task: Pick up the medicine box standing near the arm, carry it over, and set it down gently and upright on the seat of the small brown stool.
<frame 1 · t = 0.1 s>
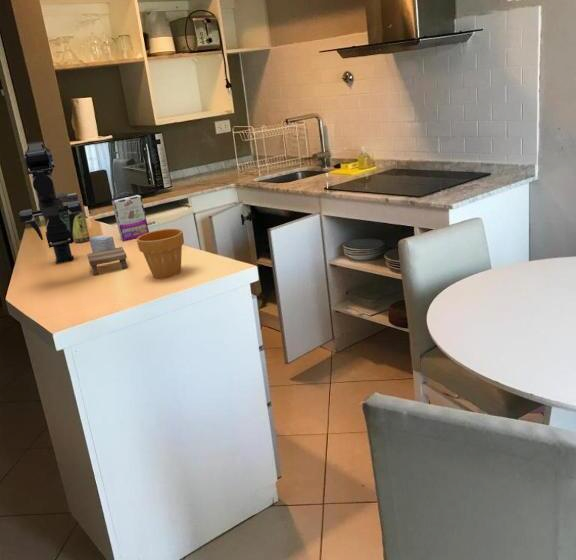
hand: (57, 237, 203), 15 cm above the table, fingers open, 9 cm apart
coffee jar: (71, 235, 276), on the table
flower pot: (167, 274, 199), on the table
candy bar box: (135, 237, 255), on the table
medicine box: (106, 260, 226), on the table
small brown stool: (109, 268, 215), on the table
sauce bottle: (82, 241, 261), on the table
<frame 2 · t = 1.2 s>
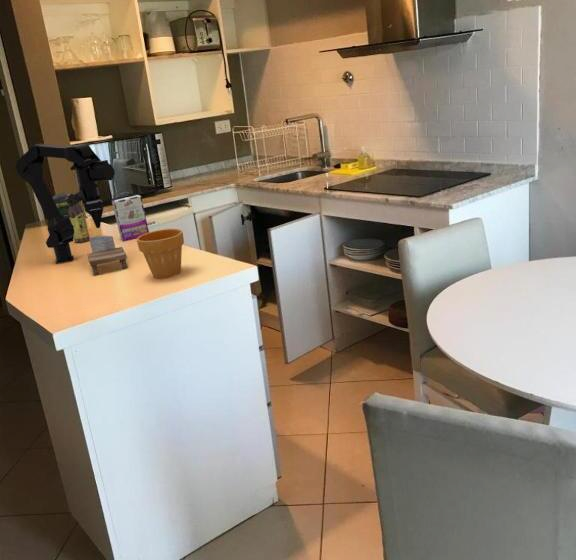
hand: (97, 225, 222), 13 cm above the table, fingers open, 9 cm apart
nothing on the table moved.
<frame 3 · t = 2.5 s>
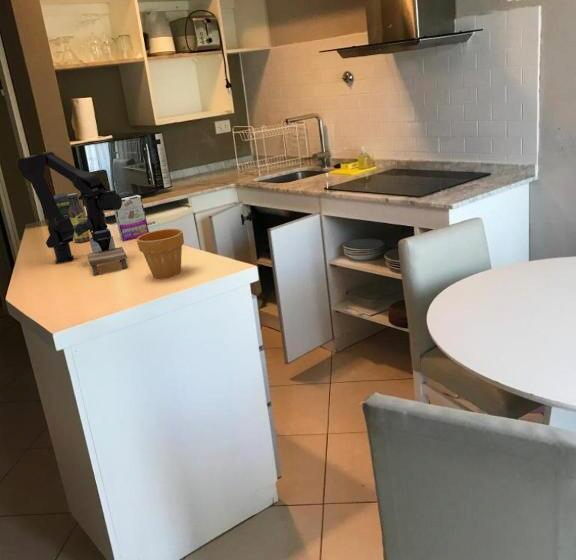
hand: (104, 253, 225), 3 cm above the table, fingers closed on medicine box, 9 cm apart
medicine box: (106, 260, 226), on the table, touching gripper
everything else where it was.
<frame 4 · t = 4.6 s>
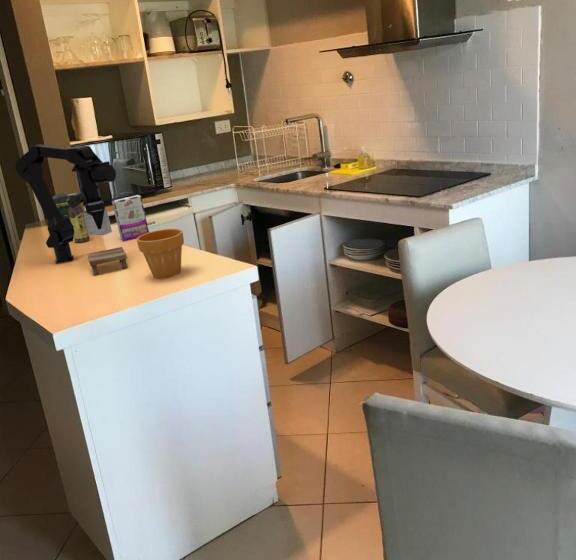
hand: (98, 226, 222), 12 cm above the table, fingers closed on medicine box, 9 cm apart
medicine box: (100, 234, 223), point 10 cm above the table, touching gripper
everything else where it was.
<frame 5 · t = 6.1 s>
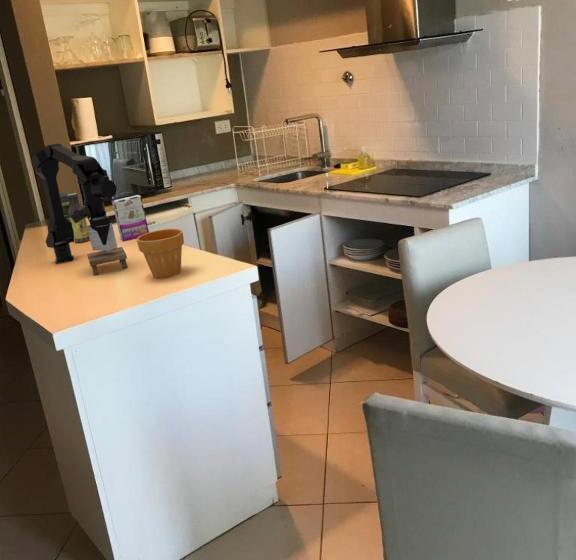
hand: (103, 242, 212), 9 cm above the table, fingers closed on medicine box, 9 cm apart
medicine box: (105, 249, 213), point 7 cm above the table, touching gripper
everything else where it was.
when the fingers open (8 cm above the table, at t = 7.0 s): medicine box stays where it is, resting on small brown stool.
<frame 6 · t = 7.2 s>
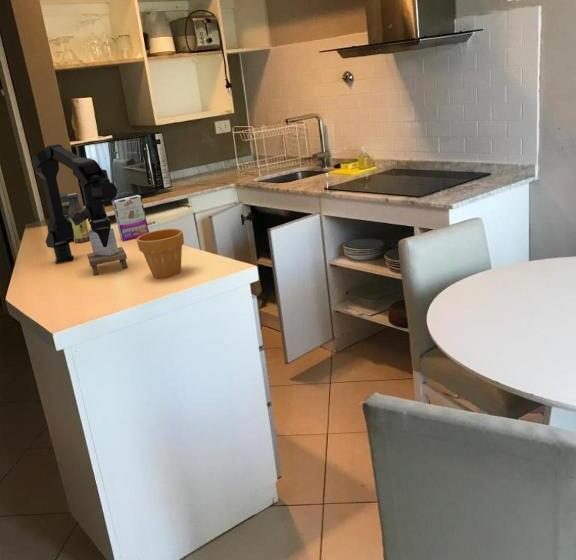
hand: (104, 244, 212), 8 cm above the table, fingers open, 9 cm apart
medicine box: (106, 254, 214), point 5 cm above the table, touching small brown stool
everything else where it was.
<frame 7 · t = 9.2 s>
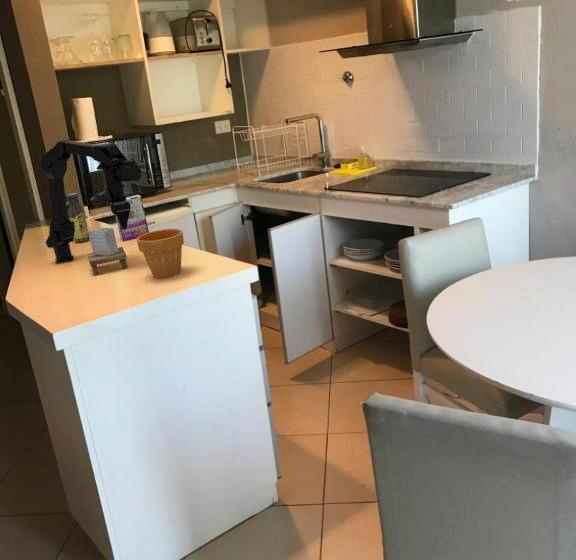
hand: (123, 227, 215), 13 cm above the table, fingers open, 9 cm apart
nothing on the table moved.
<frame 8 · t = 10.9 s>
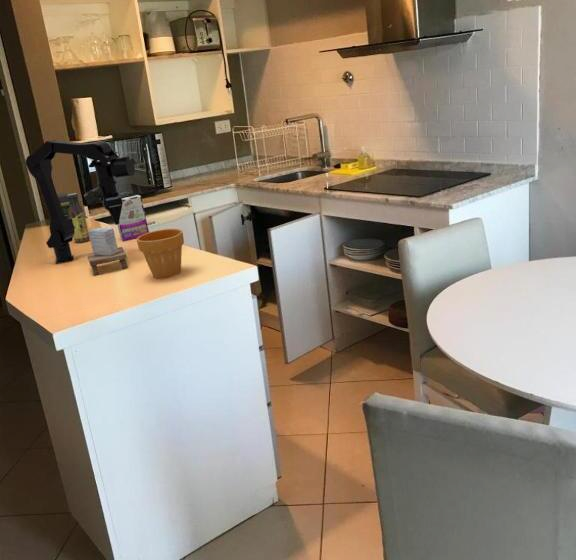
hand: (115, 222, 223), 13 cm above the table, fingers open, 9 cm apart
nothing on the table moved.
at the end: medicine box 0.1 cm off-centre on the small brown stool, point 4.8 cm above the small brown stool's base; medicine box tilted 0°; the gripper is holding nothing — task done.
